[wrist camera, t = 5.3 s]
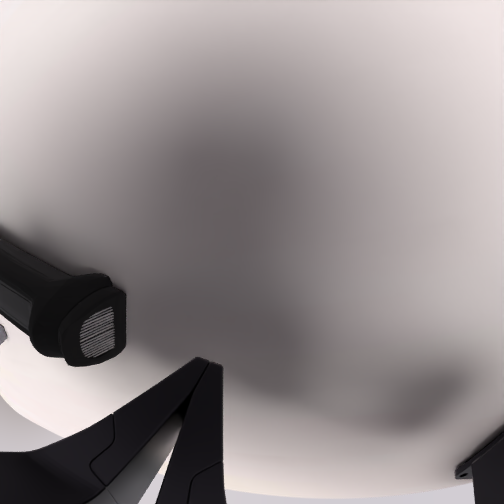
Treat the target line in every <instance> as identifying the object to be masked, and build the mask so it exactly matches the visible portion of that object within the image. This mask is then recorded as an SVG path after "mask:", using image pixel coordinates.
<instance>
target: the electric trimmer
mask: <svg viewBox="0 0 504 504" xmlns="http://www.w3.org/2000/svg"><path fill="white" fill-rule="evenodd" d="M0 314H1V315H2V316H4V317H5V318H6V319H7V320H9V321H10V322H11V323H12V324H14V325H15V326H16V327H17V328H19V329H20V330H21V331H23V332H24V333H25V334H27V335H28V336H29V337H30V341H31V343H32V345H33V347H34V348H35V349H36V350H37V351H38V352H39V353H40V354H42V355H44V356H47V357H55V358H65V361H66V362H67V364H68V365H70V366H74V367H83V366H90V365H95V364H100V363H102V362H104V361H107V360H109V359H111V358H113V357H115V356H117V355H118V354H119V353H121V352H122V350H123V349H124V348H125V346H126V294H125V293H123V292H122V291H120V290H118V289H116V288H114V287H113V285H112V282H111V280H110V278H109V276H106V275H104V274H96V273H95V274H87V275H80V276H74V277H72V276H70V275H68V274H66V273H64V272H62V271H60V270H58V269H56V268H54V267H52V266H50V265H48V264H46V263H44V262H43V261H41V260H39V259H37V258H35V257H33V256H31V255H30V254H28V253H26V252H24V251H22V250H21V249H19V248H17V247H15V246H14V245H12V244H10V243H8V242H7V241H5V240H3V239H1V238H0Z"/></svg>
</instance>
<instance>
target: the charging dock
mask: <svg viewBox="0 0 504 504" xmlns="http://www.w3.org/2000/svg"><path fill="white" fill-rule="evenodd" d="M6 339H7V336H6V333H5V331H4V328H3V326H1V325H0V345H1V344H2V343H3V342H4V341H5V340H6Z"/></svg>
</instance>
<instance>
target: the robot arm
mask: <svg viewBox="0 0 504 504" xmlns="http://www.w3.org/2000/svg"><path fill="white" fill-rule="evenodd" d="M174 445H175V446H174ZM173 447H174V449H173V452H172V455H171V458H170V461H169V464H168V467H167V470H166V473H165V476H164V479H163V482H162V485H161V488H160V491H159V495H158V498H157V500H156V503H155V504H227V503H226V496H225V489H224V469H223V366H222V365H220V364H218V363H215V362H210V361H209V360H207V359H204V358H202V357H195V358H194V359H192V360H191V361H190V362H188V363H187V364H185V365H184V366H182V367H181V368H180V369H178V370H177V371H175V372H174V373H172V374H171V375H169V376H168V377H166V378H165V379H163V380H162V381H160V382H159V383H158V384H156V385H155V386H153V387H152V388H150V389H149V390H147V391H146V392H144V393H143V394H141V395H140V396H138V397H136V398H135V399H133V400H132V401H130V402H129V403H127V404H126V405H124V406H123V407H121V408H120V409H118V410H116V411H115V412H114V413H113V414H110V415H108V416H107V417H105V418H104V419H102V420H100V421H99V422H97V423H95V424H94V425H92V426H90V427H88V428H86V429H84V430H82V431H80V432H78V433H76V434H74V435H71V436H69V437H67V438H64V439H62V440H60V441H57V442H55V443H53V444H50V445H48V446H45V447H43V448H40V449H37V450H32V451H26V452H0V504H138V503H139V501H140V499H141V498H142V496H143V494H144V493H145V492H146V490H147V488H148V487H149V485H150V484H151V482H152V480H153V479H154V477H155V475H156V474H157V473H158V471H159V469H160V468H161V466H162V465H163V463H164V461H165V460H166V458H167V456H168V455H169V453H170V452H171V450H172V448H173ZM455 478H456V479H473V487H474V496H475V504H504V432H503V433H502V434H501V435H499V436H498V437H497V438H496V439H495V440H494V441H492V442H491V443H490V444H489V445H488V446H486V447H485V448H484V449H483V450H481V451H480V452H479V453H478V454H476V455H475V456H474V457H473V458H471V459H470V460H469V461H467V462H466V463H465V464H463V465H462V466H460V467H459V468H458V469H456V470H455Z"/></svg>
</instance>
